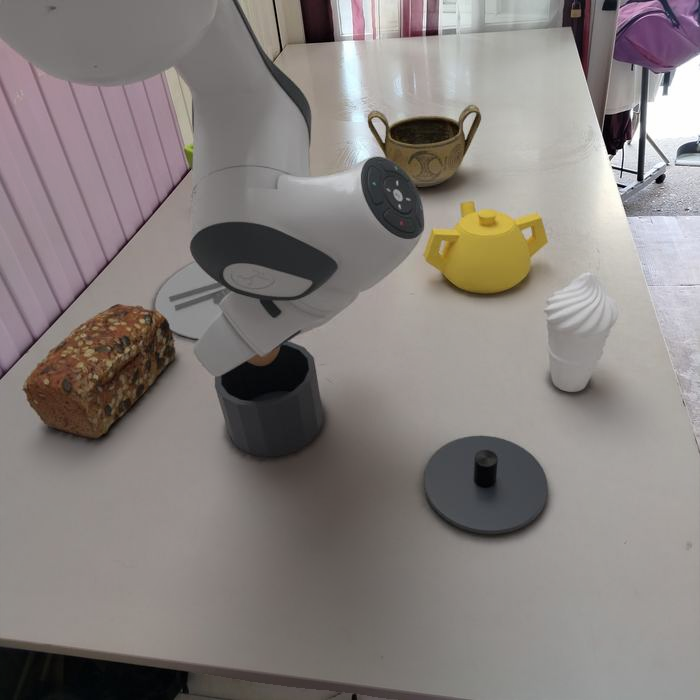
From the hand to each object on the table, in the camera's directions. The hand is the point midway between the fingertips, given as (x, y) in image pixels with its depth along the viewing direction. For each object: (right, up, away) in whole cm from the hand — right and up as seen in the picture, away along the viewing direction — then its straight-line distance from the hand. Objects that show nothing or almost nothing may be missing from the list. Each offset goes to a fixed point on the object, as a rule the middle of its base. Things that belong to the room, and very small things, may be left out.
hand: (252, 331), depth 72 cm
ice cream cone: (+39, -6, +10) cm, 41 cm away
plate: (-7, +8, +34) cm, 36 cm away
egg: (+1, -4, +2) cm, 5 cm away
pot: (+2, -11, +8) cm, 14 cm away
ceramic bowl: (+27, +34, +62) cm, 76 cm away
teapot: (+33, +11, +33) cm, 48 cm away
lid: (+26, -17, -3) cm, 31 cm away
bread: (-22, -8, +16) cm, 28 cm away
